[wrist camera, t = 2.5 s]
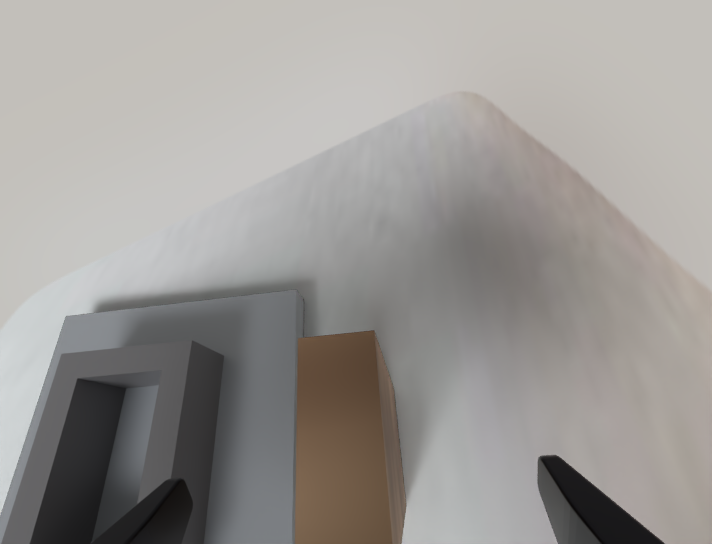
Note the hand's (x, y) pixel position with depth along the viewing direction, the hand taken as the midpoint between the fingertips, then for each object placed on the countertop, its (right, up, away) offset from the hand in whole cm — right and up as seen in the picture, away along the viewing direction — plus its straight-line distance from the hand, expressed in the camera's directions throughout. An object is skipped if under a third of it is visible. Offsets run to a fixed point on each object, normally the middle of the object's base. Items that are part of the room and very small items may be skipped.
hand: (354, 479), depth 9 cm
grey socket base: (-9, -4, +9) cm, 14 cm away
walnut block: (+1, -3, +8) cm, 9 cm away
